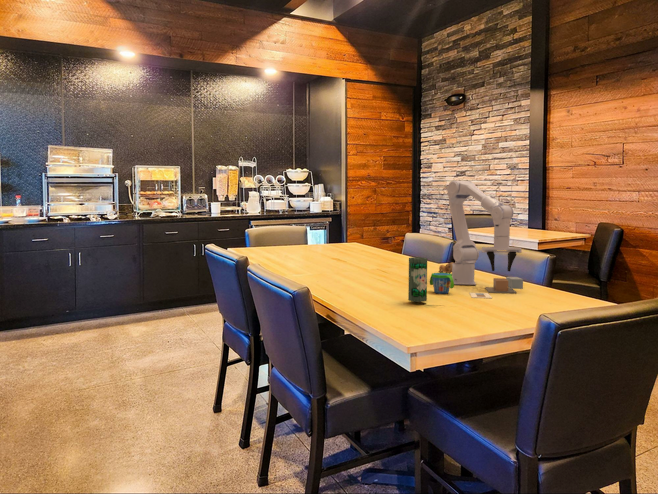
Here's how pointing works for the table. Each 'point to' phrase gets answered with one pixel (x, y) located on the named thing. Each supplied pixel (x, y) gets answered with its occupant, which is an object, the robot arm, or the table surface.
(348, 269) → the table surface
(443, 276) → the snack cup
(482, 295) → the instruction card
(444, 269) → the lion figurine
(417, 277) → the can
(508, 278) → the grey brick
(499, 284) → the brown brick
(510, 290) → the baseplate
